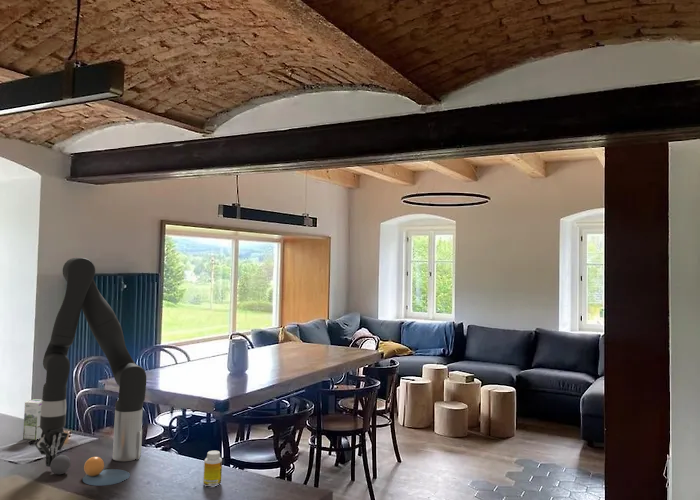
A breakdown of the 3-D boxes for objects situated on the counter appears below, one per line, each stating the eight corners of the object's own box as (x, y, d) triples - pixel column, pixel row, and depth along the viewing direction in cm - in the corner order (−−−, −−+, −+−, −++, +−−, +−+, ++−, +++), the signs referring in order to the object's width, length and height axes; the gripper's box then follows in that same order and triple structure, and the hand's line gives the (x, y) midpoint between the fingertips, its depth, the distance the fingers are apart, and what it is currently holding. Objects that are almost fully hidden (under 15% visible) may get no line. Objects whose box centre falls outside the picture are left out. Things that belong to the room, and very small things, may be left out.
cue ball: (63, 451, 188) (74, 465, 188) (46, 464, 185) (57, 478, 185) (63, 450, 183) (75, 464, 183) (46, 463, 180) (58, 478, 180)
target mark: (132, 468, 191) (132, 468, 191) (126, 484, 177) (126, 483, 177) (87, 470, 188) (87, 470, 188) (78, 486, 174) (78, 486, 174)
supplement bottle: (222, 487, 178) (223, 454, 178) (204, 489, 176) (205, 455, 177) (219, 480, 183) (221, 449, 184) (202, 482, 181) (203, 450, 182)
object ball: (93, 464, 188) (108, 469, 187) (80, 477, 183) (97, 482, 182) (91, 450, 186) (107, 455, 185) (78, 463, 180) (95, 468, 179)
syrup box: (45, 436, 223) (47, 399, 224) (35, 440, 217) (38, 402, 218) (32, 435, 224) (34, 398, 224) (22, 439, 218) (24, 401, 218)
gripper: (48, 419, 180) (45, 474, 180) (76, 409, 193) (73, 460, 193) (28, 416, 182) (25, 471, 181) (57, 407, 195) (54, 458, 194)
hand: (50, 465), depth 187 cm, fingers closed
